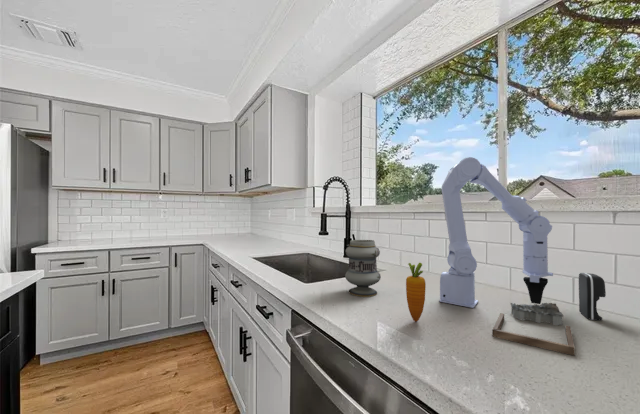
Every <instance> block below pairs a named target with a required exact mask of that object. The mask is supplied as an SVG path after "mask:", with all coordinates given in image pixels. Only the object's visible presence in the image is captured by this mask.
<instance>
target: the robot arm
mask: <svg viewBox="0 0 640 414" xmlns="http://www.w3.org/2000/svg"><path fill="white" fill-rule="evenodd" d="M468 182H469V183H471V184H476V185H481V186H482V187H484V188H485V189H486V190H487V191H488V192H489V193H490V194H491V195H493V196H494V197H495V198H496V199H497V200H498V201H500V202H501V209H502V211H504V212H505V213H506V214H507V216H509V217H510V218H511V219H512V220H513V221H514V222H515V223H517V224H518V229H519V230H520V231H521V232H522V235H523V236H522V245H523V246H522V248H523V250H522V252H523V253H522V255H523V256H522V258H523V259H522V260H523V261H522V262H523V264H522V265H523V269H522V273H523V274H524V275H525V276H524V277H523V282H524V283H525V285H526V288H527V290H528V295H529V300H530V303H531V304H537V305H541V304H542V300H543V294H544V290H545V288H546V286H547V284H548V281H549V278H546V277H553V276H554V272H550V271H549V270H548V269H549V266H548V263H549V262H548V259H549V257H548V251H549V250H548V249H549V248H548V236H549V234H550V233H551V231H552V229H553V225H552V224H550V221H549V219H548V218H547V217H545V216H543V215H539V213H540V211H538V210H537V209H534V208H533V207H532V206H531V205H529V204H528V202H527V200H528V199H527V198H525V197H521V196H520V195H513V194H512V193H510V192H509V191H508V190H507V188H506V187H505V186H504V185H503V184H502V183H501V182H500V181H499V180H498V179H497V178H496V177H495V175H493V173H491V172H490V170H489V169H488V168H487V167H486V165H484V164H482V163H481V162H480V161H479V160H478V159H477V158H475V157H471V156H467V157H465V158H463V159H461V160H460V161H459V162H458V163H456V164H454V165H453V167H451V168H450V169H449V170H448V173H447V175H446V177H445V178H444V181H443V183H442V185H441V195H442V200H443V201H442V202H443V209H444V214H445V222H446V227H447V228H446V229H447V232H448V233H447V234H448V239H449V240H448V241H449V245H448V255H447V259H446V260H447V263H448V265H449V266H450V267H449V269H448V271H442V272H441V274H440V276H439V300H438V302H439V303H445V304H451V305H456V306H462V307H466V308H471V309H473V308H475V306H476V305H477V304H478V303H479V300H478V299H476V298H475V297H476V295H475V293H476V291H475V290H476V286H475V283H476V282H475V281H476V279H475V278H476V277H475V271H476V269H477V267H478V266H477V265H478V264H477V263H478V262H477V260H476V259H475V257H474V256H473V254H472V249H471V246H470V244H469V242H468V237H467V231H466V223H465V219H464V211H463V206H462V199H461V193H460V191H461V190H462V188H464V186H465V185H466V184H468Z"/></svg>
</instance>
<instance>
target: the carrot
mask: <svg viewBox="0 0 640 414" xmlns="http://www.w3.org/2000/svg"><path fill="white" fill-rule="evenodd" d="M407 265H408V266H409V269H410V272H411V275H408V276H407V277H406V279H405V288H406V290H405V292H406V301H407V302H406V303H407V307H408V311H409V314H410V316H411V319H412V320H413V322H414V323H417V322H419V320H420V318H421V316H422V313H423V311H424V307H425V301H426V280H425V278H424V277H423V276H420V275H422V274H423V273H424V270H421V268H422V267H423V263H422V262H418V263H417V266H416V265H415V264H412V263H411V262H408V264H407Z"/></svg>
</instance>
